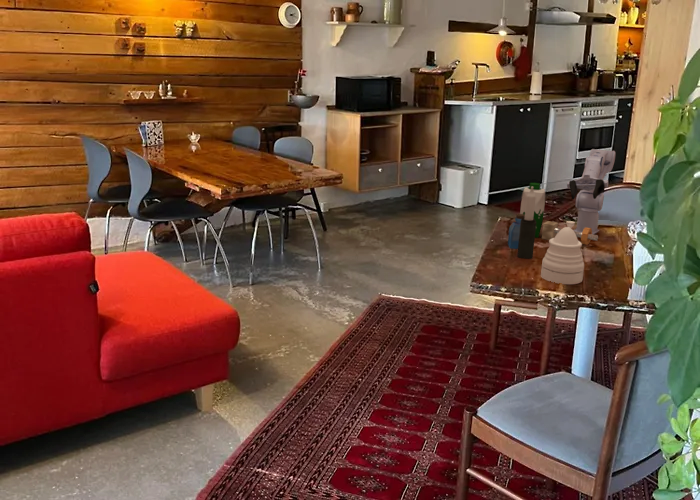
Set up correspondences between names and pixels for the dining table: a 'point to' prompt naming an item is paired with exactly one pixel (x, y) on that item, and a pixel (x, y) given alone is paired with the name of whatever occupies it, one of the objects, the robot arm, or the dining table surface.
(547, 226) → the clamp block
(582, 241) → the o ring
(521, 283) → the dining table surface
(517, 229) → the perfume bottle
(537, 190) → the milk carton
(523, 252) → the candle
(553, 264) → the honey pot
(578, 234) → the pipe
